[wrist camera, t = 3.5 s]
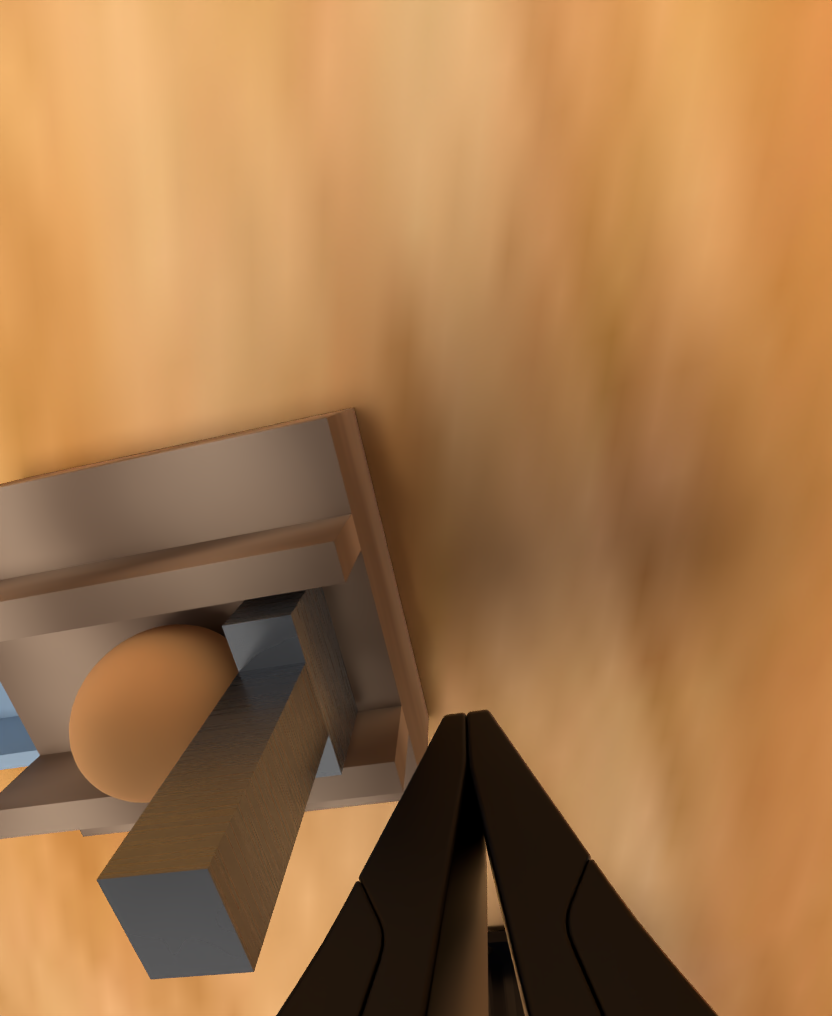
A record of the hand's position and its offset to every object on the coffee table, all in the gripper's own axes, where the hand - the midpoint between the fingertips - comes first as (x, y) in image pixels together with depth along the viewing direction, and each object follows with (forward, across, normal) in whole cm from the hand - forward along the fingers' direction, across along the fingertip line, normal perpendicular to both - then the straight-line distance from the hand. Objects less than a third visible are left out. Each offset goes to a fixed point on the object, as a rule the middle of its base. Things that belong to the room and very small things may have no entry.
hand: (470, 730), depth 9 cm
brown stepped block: (+8, +8, 0) cm, 11 cm away
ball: (+2, +7, 0) cm, 8 cm away
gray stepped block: (+4, +4, 0) cm, 6 cm away
